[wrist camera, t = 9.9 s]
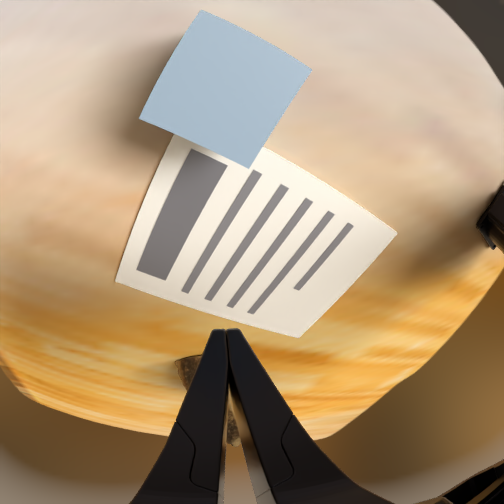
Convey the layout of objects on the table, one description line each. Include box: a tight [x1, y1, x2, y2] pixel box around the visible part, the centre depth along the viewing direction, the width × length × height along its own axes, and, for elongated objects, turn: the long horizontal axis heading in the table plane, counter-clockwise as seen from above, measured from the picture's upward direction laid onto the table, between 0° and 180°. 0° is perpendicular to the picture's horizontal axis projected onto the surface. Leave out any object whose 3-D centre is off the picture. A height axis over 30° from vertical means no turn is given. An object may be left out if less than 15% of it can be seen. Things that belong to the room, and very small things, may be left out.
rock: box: [175, 356, 241, 447], centre depth 28 cm, size 11×9×10 cm
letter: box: [115, 134, 397, 338], centre depth 21 cm, size 18×14×1 cm
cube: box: [139, 10, 312, 169], centre depth 12 cm, size 5×5×5 cm
